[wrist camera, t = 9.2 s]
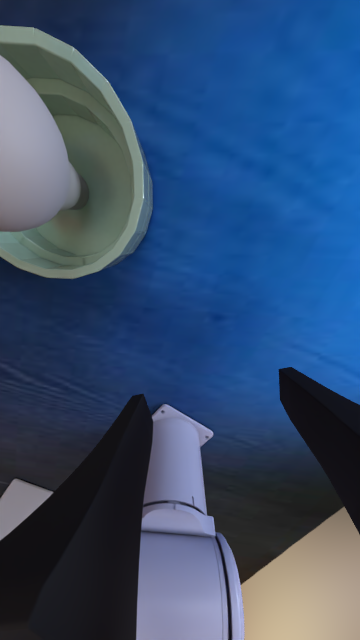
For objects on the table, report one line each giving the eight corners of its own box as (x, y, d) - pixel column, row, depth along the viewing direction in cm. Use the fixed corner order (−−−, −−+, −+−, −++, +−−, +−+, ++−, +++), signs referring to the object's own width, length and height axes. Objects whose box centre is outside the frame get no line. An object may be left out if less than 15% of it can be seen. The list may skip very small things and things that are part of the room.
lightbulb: (27, 211, 16) (-248, 156, 6) (47, 123, 14) (-321, -207, 4) (100, 249, 17) (-17, 263, 7) (129, 174, 15) (23, 30, 5)
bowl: (106, 293, 19) (83, 311, 14) (-17, 208, 16) (-96, 195, 12) (182, 180, 16) (184, 155, 11) (43, 49, 13) (-33, -59, 8)
